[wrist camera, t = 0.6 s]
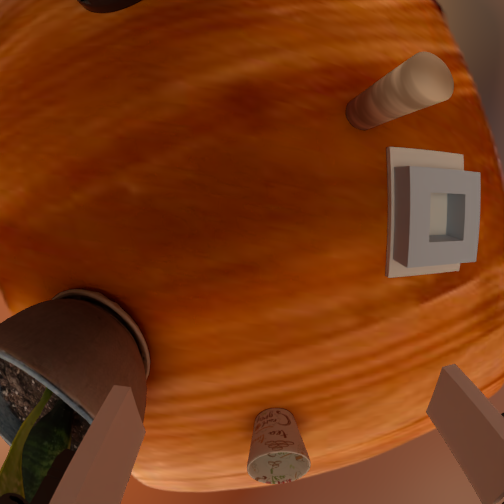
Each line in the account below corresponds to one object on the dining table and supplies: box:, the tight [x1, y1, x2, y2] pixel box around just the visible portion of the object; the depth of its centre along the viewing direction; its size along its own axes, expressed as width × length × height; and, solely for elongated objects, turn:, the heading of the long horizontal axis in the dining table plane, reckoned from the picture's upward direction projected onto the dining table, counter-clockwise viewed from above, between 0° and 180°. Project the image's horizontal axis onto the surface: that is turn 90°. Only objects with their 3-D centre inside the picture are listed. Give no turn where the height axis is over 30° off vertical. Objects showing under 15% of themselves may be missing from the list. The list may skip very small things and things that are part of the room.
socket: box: [385, 147, 480, 278], centre depth 32 cm, size 16×12×5 cm
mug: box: [247, 408, 310, 484], centre depth 37 cm, size 8×13×10 cm, turn 175°
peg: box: [346, 52, 454, 130], centre depth 24 cm, size 4×4×16 cm
